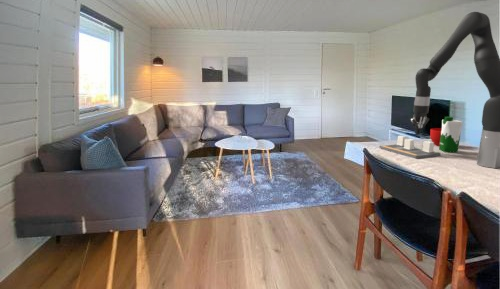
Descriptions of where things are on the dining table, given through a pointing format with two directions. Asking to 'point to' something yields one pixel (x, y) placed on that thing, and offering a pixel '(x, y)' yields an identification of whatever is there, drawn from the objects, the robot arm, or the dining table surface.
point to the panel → (409, 151)
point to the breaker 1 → (401, 140)
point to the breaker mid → (409, 144)
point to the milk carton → (450, 135)
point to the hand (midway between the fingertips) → (417, 134)
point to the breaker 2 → (428, 146)
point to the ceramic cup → (435, 135)
